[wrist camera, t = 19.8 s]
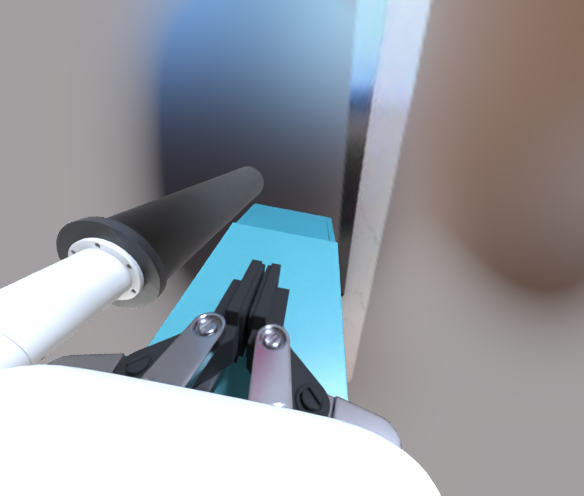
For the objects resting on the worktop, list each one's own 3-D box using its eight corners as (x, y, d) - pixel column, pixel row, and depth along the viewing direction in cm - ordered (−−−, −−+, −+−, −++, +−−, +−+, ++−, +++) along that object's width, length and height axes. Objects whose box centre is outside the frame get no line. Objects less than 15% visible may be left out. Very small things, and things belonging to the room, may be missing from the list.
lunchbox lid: (355, 639, 6) (465, 782, 3) (14, 562, 6) (-208, 624, 3) (335, 248, 20) (350, 205, 17) (233, 229, 21) (230, 182, 18)
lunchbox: (305, 313, 36) (303, 354, 29) (247, 302, 36) (231, 339, 29) (331, 217, 27) (336, 243, 21) (254, 203, 27) (234, 224, 21)
